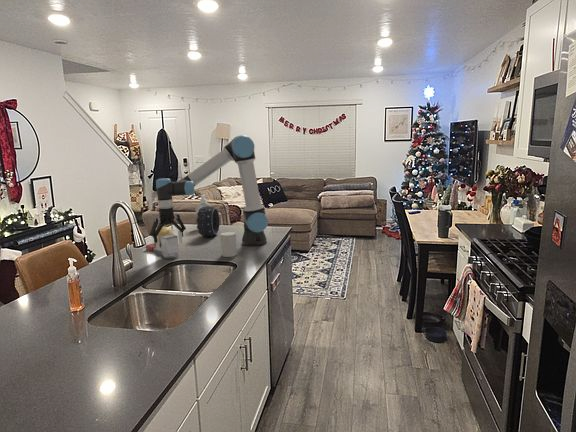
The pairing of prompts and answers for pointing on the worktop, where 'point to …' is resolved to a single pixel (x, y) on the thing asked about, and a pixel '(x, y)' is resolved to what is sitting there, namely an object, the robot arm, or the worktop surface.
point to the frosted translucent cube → (169, 244)
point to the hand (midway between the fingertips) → (169, 245)
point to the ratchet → (159, 251)
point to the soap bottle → (202, 204)
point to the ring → (208, 221)
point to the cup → (228, 244)
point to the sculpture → (164, 233)
